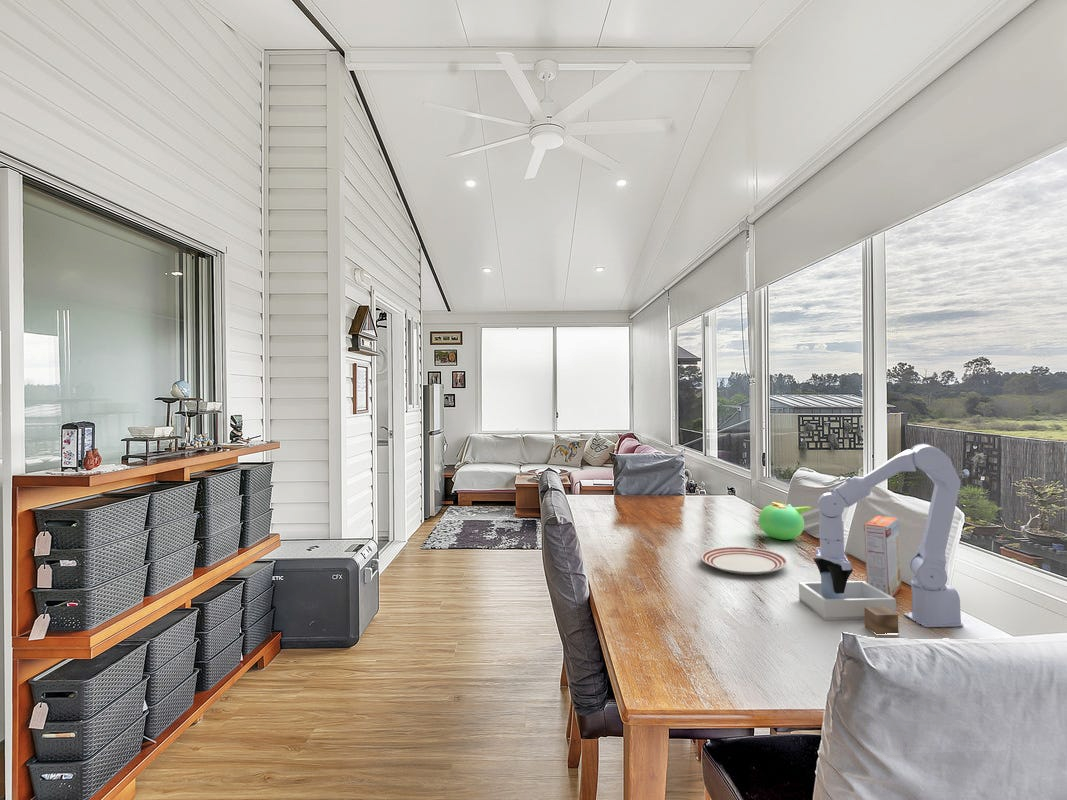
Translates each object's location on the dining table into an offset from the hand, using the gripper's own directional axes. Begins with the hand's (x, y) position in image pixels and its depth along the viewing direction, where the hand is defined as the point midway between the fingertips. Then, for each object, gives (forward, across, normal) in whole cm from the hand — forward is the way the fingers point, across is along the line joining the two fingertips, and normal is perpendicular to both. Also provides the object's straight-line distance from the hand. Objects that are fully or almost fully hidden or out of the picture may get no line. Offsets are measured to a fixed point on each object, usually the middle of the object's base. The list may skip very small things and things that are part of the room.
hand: (833, 589), depth 146 cm
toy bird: (+6, -73, +18) cm, 75 cm away
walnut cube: (+6, +14, +4) cm, 16 cm away
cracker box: (+6, -11, +20) cm, 24 cm away
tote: (+5, 0, +3) cm, 6 cm away
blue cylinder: (+3, 0, 0) cm, 3 cm away
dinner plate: (+6, -39, -10) cm, 41 cm away
